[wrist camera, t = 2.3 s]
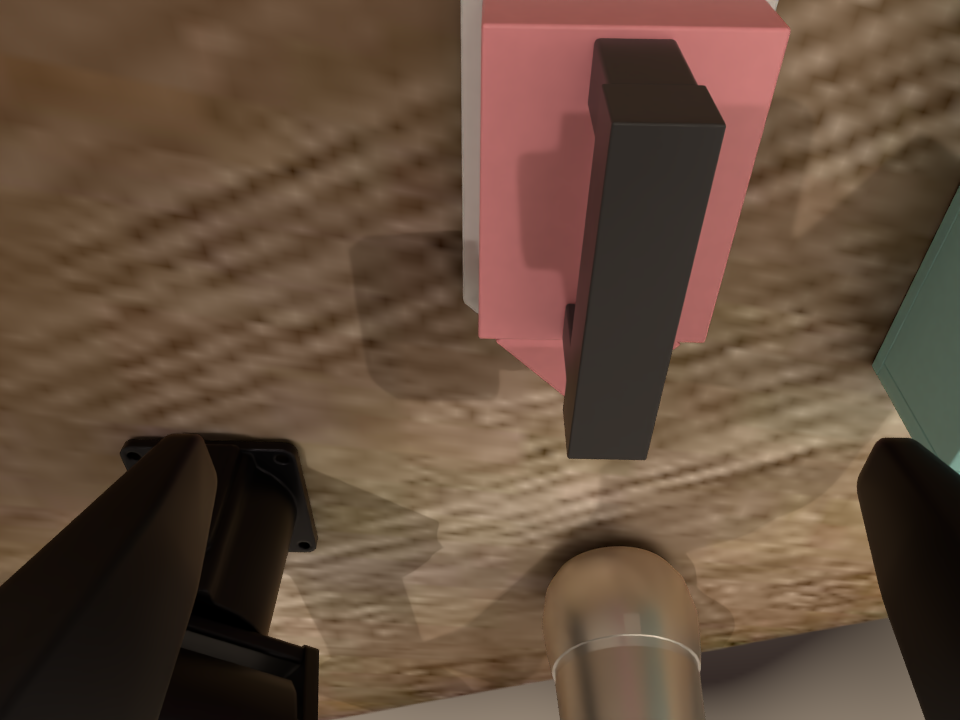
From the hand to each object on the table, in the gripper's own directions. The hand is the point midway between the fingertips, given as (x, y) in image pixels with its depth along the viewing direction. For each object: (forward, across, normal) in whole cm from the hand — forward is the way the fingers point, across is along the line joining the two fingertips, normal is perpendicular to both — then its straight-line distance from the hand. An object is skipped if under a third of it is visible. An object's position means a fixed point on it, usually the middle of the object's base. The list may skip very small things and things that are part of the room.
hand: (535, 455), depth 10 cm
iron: (+12, -2, +3) cm, 12 cm away
